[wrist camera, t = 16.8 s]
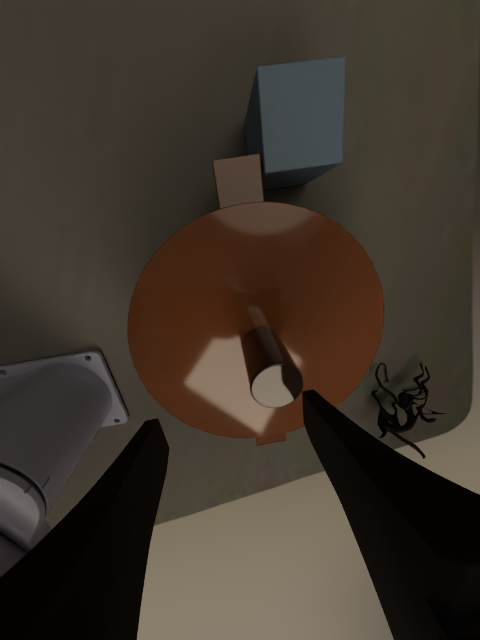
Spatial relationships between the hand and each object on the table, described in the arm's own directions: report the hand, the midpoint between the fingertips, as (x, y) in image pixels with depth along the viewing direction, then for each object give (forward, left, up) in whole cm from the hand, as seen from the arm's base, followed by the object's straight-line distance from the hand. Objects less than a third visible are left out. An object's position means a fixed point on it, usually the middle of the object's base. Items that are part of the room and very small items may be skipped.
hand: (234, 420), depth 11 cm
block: (+6, +13, -9) cm, 17 cm away
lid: (+2, +2, -4) cm, 5 cm away
